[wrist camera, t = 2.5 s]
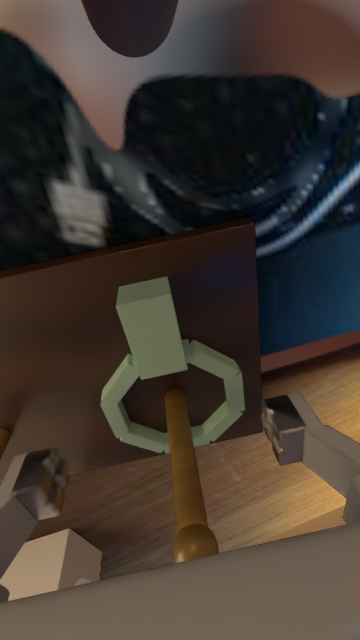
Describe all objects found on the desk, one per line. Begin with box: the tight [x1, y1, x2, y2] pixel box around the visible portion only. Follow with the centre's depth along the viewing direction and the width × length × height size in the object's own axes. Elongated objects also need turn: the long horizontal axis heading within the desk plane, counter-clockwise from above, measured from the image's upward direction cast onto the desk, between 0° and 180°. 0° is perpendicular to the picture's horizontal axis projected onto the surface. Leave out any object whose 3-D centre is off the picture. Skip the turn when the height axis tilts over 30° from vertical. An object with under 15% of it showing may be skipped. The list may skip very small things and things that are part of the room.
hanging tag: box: [100, 276, 245, 453], centre depth 20 cm, size 15×10×2 cm
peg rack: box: [0, 218, 263, 563], centre depth 17 cm, size 19×28×13 cm
